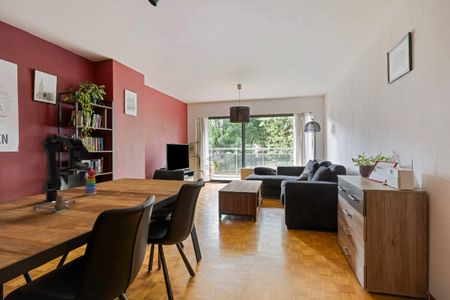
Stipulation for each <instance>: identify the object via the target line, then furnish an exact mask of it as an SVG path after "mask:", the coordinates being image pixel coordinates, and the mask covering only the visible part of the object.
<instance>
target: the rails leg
mask: <svg viewBox="0 0 450 300" xmlns="http://www.w3.org/2000/svg"><path fill="white" fill-rule="evenodd" d="M54 205H55V206H56V203H54ZM33 206H34V207H36V209H43V210H50V211H53V212H52V214H56V213H57V212H56V208H53V207H46V206H35V204H34V205H33ZM63 208H65V210H66V211H68V210H69V205H67V204H63Z"/></svg>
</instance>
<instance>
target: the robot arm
mask: <svg viewBox="0 0 450 300" xmlns="http://www.w3.org/2000/svg"><path fill="white" fill-rule="evenodd" d="M62 143H63V144H65V146H67V147H68V148H67V149H66V151H68V159H67V160H66V161H67V162H68V166H66V167H57V154H56V153H57V152H58V150H59V147H60V145H61V144H62ZM41 147H42V150H43V152H44V153H45V154H46V167H47V177H46V179H45V180H44V182H45V183H44V184H43V186H42V187H41V192H42V193H45V199H42V201H43V202H48V203H49V202H54V201H56V196H58V191H61V188H62V180H63V182H64V183H65V185H69V175H70V173H69V172H76V171H77V172H78V176H79V183H83V181H84V179H85V177H86V174H87V172H89V171H90V170H91V169H92V167H91V166H90V163H89V161H85V162H83V161H82V159H88V158H89V156H90V151H89V150H88V149H87V147H86V146H85V144H84V142H83V140H82V139H81V137H74V136H73V137H70V136H66V135H63V134H60V133H52V134H50V136H47V137H46V138H44V139H43V141H42V142H41ZM59 175H60V176H59Z"/></svg>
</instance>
